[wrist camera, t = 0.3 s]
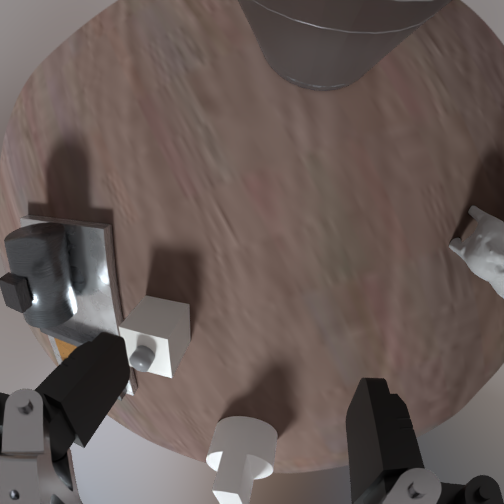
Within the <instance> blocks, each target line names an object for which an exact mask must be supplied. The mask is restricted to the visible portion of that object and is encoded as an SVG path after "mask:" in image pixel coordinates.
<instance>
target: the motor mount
mask: <svg viewBox="0 0 504 504" xmlns="http://www.w3.org/2000/svg"><path fill="white" fill-rule="evenodd" d="M20 221H21V228H19V229H17V230H15V231H13V232H11V233H10V234H9V235H7V236H6V238H5V240H4V242H5V247H6V252H7V257H8V261H9V266H10V270H11V273H9V272H8V273H7V274H5V275H4V276H3V277H1V278H0V287H1V291H2V294H3V297H4V300H5V303H6V306H8V307H10V308H12V309H14V310H16V311H19V312H21V313H23V315H24V318H25V320H26V322H27V323H28V324H29V325H31V326H33V327H37V328H40V330H41V332H43V333H45V334H47V335H48V337H49V340H50V343H51V345H52V348H53V351H54V353H55V356H56V358H57V361H58V363H59V365H61V363H62V362H63V361H64V359H65V358H66V357H67V358H68V355H69V354H70V353H71V352H72V351H73V350H74V349H75V348H76V347H78V346H80V345H82V344H84V343H86V342H88V341H90V342H92V341H93V340H94V339H95V338H96V337H97V336H98V335H99V334H100V333H101V332H107V333H111V334H114V335H118V336H120V331H119V326H120V325H121V323H122V322H123V317H122V311H121V304H120V298H119V291H118V283H117V276H116V267H115V258H114V248H113V236H112V224H104V223H95V222H87V221H79V220H70V219H62V218H53V217H45V216H36V215H26V216H24V217H21V218H20ZM137 389H138V387H137V383H136V379H135V375H134V371H133V367H131V366H130V378H129V381H128V384H127V386H126V387H125V389H124V390H123V391H122V393H121V394H120V396H119V397H118V399H119V400H121V401H122V399H123V397H124V396H125V394H126V393H127V394H130V395H133V396H134V394H135V392H136V391H137Z"/></svg>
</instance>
